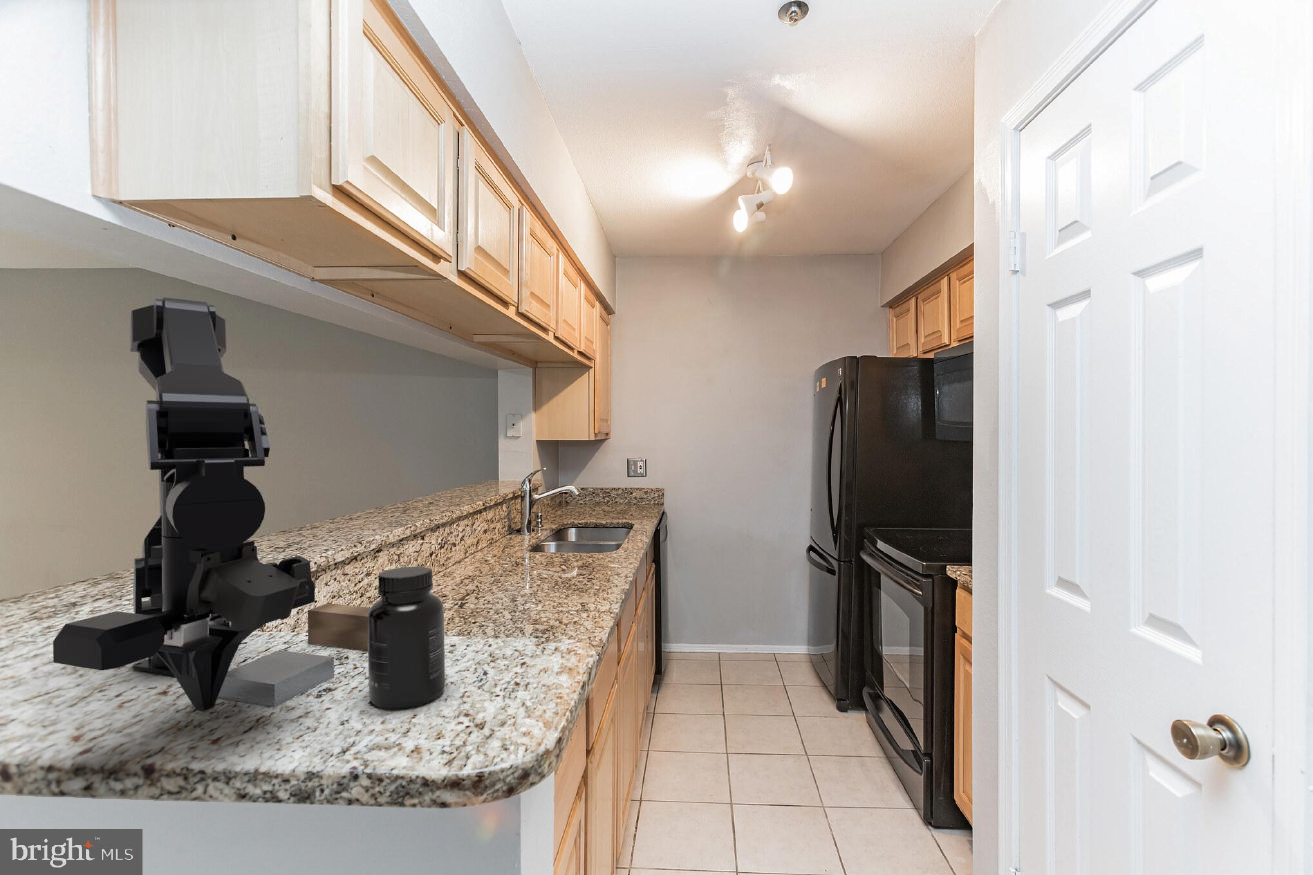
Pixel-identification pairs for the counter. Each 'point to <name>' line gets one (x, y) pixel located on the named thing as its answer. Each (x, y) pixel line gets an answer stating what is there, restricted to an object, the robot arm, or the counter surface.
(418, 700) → the supplement bottle
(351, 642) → the curved brown bar
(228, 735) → the counter surface
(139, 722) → the counter surface
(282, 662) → the grey metal plate
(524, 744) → the counter surface
